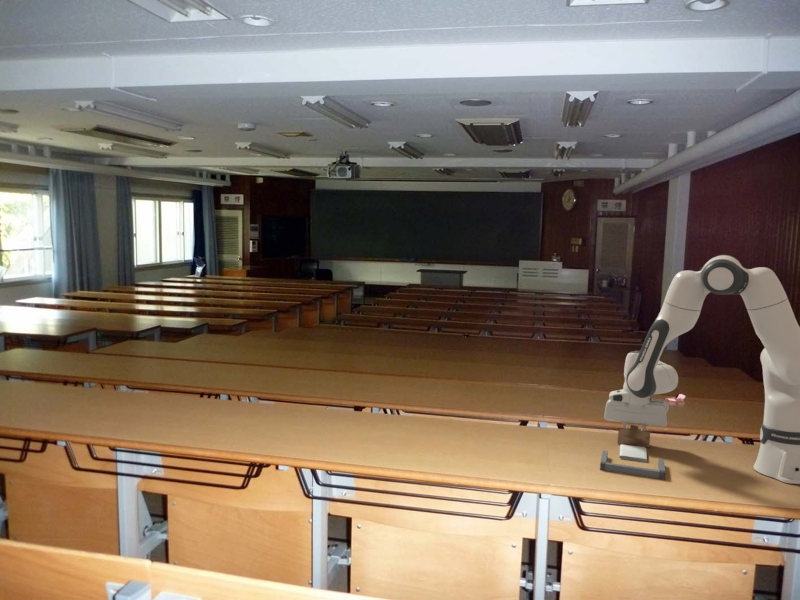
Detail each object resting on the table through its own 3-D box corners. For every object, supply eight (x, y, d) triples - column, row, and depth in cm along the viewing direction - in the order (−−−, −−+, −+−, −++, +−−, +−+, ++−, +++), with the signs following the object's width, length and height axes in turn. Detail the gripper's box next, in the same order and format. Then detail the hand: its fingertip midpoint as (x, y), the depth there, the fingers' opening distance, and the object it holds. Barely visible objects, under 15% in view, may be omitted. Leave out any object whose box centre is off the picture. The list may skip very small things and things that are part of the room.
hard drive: (647, 459, 192) (646, 446, 204) (619, 455, 195) (620, 443, 207) (646, 464, 193) (646, 451, 204) (619, 460, 195) (619, 448, 207)
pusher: (649, 441, 212) (649, 426, 212) (649, 447, 206) (650, 432, 205) (618, 436, 216) (619, 423, 216) (617, 442, 209) (618, 428, 209)
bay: (663, 465, 190) (663, 459, 190) (664, 479, 179) (665, 472, 178) (602, 456, 197) (602, 450, 196) (600, 469, 185) (600, 463, 185)
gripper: (668, 398, 210) (666, 437, 212) (606, 391, 218) (603, 429, 219) (669, 402, 205) (666, 442, 206) (605, 395, 212) (602, 434, 213)
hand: (633, 435), depth 213 cm, fingers closed on pusher, 2 cm apart
